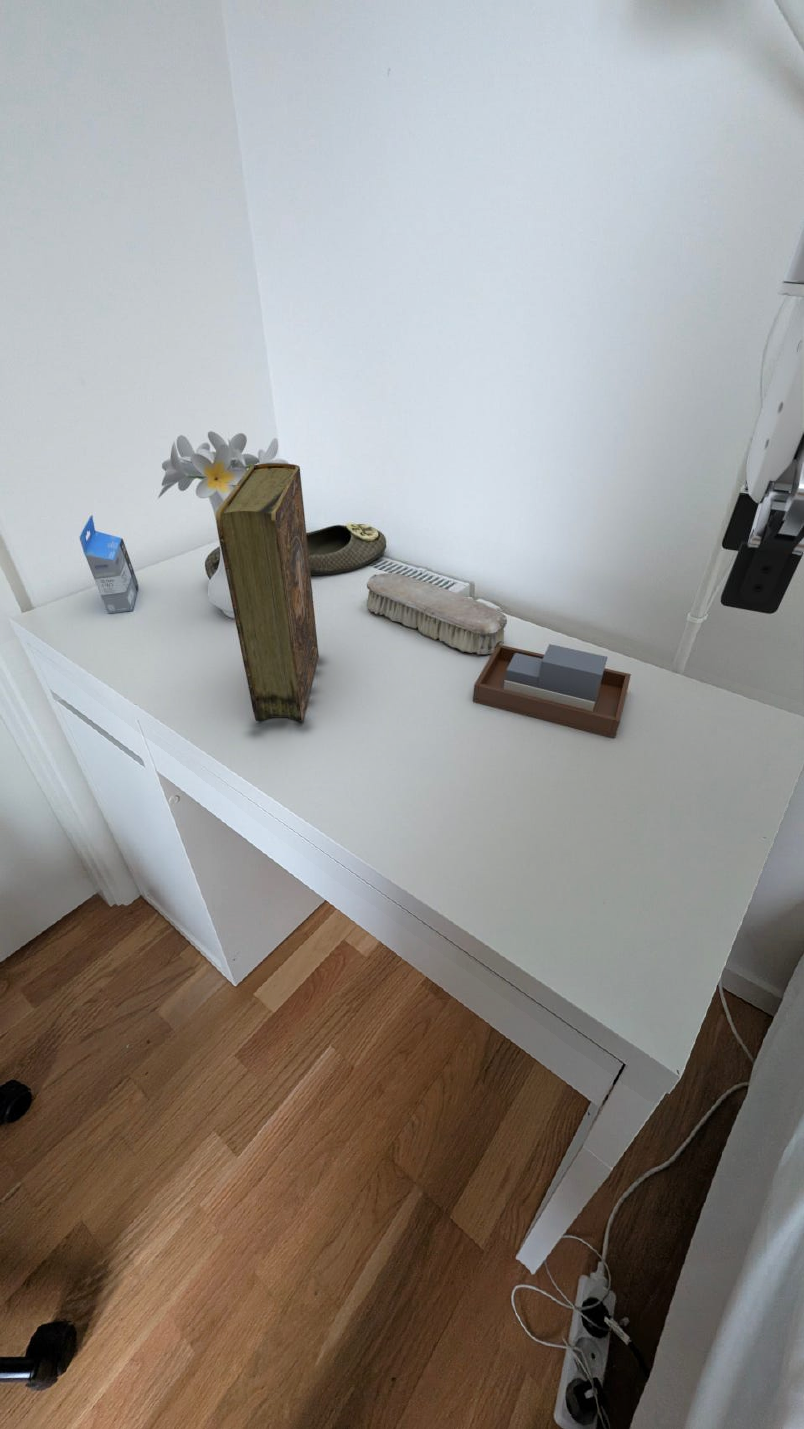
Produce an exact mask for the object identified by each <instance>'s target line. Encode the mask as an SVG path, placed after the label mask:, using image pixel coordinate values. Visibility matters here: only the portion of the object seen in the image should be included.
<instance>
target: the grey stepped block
mask: <svg viewBox="0 0 804 1429" xmlns="http://www.w3.org/2000/svg"><path fill="white" fill-rule="evenodd" d="M607 661H608V656H606V655H601V654H597V653H592V652H587V651H584V650H579V649H574V648H570V647H565V646H560V645H556V644H551V643H549V644H548V646H547V648H546V650H545V653H544V657H543V659H540V658H536V657H531V656H527V655H523V654H518V653H515V654H514V656H513V658H512V660H511V662H510V664H509V666H508V668H507V669H506V676H505V681H504V688H503V689H505V690H509V691H513V692H517V693H521V694H525V695H529V696H533V697H537V698H541V699H545V700H549V701H553V702H557V703H561V704H565V705H569V706H573V707H577V708H581V709H585V710H589V711H593V708H594V705H595V701H596V698H597V695H598V691H599V687H600V684H601V680H602V676H603V672H604V669H605V668H606V665H607Z"/></svg>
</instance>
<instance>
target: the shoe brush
mask: <svg viewBox="0 0 804 1429" xmlns="http://www.w3.org/2000/svg"><path fill="white" fill-rule="evenodd" d="M366 588H367V590H368V594H367V600H366V608H367V609H368V610H369V611H370V613H372V612H374V614H376V615H380V616H382V615H383V616H385V617H386V618H389V619H390V621H392V622H398V623H401V624H402V625H403V626H404V627H405V626H406V627H408V628H412V629H417V628H418V631H419V632H420V633H421V634H423V636H426V637H430V638H431V639H433V640H434V641H436V640H437V639H439V641H440V642H444V643H445V644H446V645H447V646H450V647H451V648H455V649H458V650H460V651H461V652H462V653H464V652H467V653H469V654H470V653H471V654H472V653H476V654H477V655H489V654H490V655H492V654H493V652H494V650H495V649H496V647H497V645H498V644H499V645H504V641H505V628H506V626H507V623H508V619H507V616H506V615H505V614H504V613H503V612H501V611H499V610H497V609H495V608H493V607H491V606H488V605H486V603H484V602H481V601H478V600H474V599H472V598H470V597H468V596H466V595H463V594H461V593H457V592H455V591H453V590H450V589H447V588H444V587H442V586H439V585H436V584H433V583H430V582H428V581H424V580H421V579H417V578H414V577H411V576H407V575H404V574H400V573H395V572H384V573H379V574H373V575H372V576H370V578H369V579H368V580H367V582H366Z"/></svg>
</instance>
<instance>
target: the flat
mask: <svg viewBox="0 0 804 1429" xmlns="http://www.w3.org/2000/svg"><path fill="white" fill-rule="evenodd" d="M306 535H307V545H308V554H309V564H310V574H311V576H321V575H322V576H323V575H334V574H339V573H346V572H350V571H354V570H356V569H358V568H361V567H363V566H366V565H368V564H370V563H372V562H373V561H374V560H377V558H379V556H381V555H383V553H385V551H386V550H387V549H386V548H387V538H386V536H385V534H384V533H383V532H381V531H380V530H379V529H376V528H375V527H374V526H372V525H369V524H365V523H356V522H347V523H346V524H345V525H344V524H333V525H330V526H326V527H324V528H320V529H317V530H313V531H309V532H306ZM219 561H220V545H219V546H217V547H216V548H214V549H213V550H211V552H210V553H209V554H208V555H207V557H206V558H205V561H204V569H205V573H206V576H207V577H208V579H209V580H210V579H211V577H212V576H213V575H214V573H215V572H216V571H217V569H218V566H219Z"/></svg>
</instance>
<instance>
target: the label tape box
mask: <svg viewBox="0 0 804 1429" xmlns="http://www.w3.org/2000/svg"><path fill="white" fill-rule="evenodd" d="M94 522H95V521H94V516H93V515H92V514H91V515H90V516H89V518H88V519H87V521H86V523H85V524H84V526H83V528H82V530H81V532H80V534H79V541H80V544H81V548H82V552H83V554H84V557H85V558H86V562H87V564H88V566H89V569H90V572H91V575H92V577H93V579H94V582H95V584H96V588H97V589H98V593H99V595H100V598H101V599H102V602H103V604H104V607H105V610H106V612H107V614H116V613H117V614H118V613H124V612H125V613H126V612H130V611H131V612H132V611H133V610H134V607H135V602H136V598H137V594H138V590H139V581H138V579H137V576H136V573H135V570H134V567H133V565H132V562H131V559H130V556H129V553H128V550H127V547H126V545H125V544H126V543H125V541H124V539H123V538H121V537H119V536H115V535H113V534H109V533H106V532H105V533H104V532H101V531H97V530H96V527H95V523H94ZM88 533H89V535H88ZM87 536H88V537H87Z"/></svg>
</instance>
